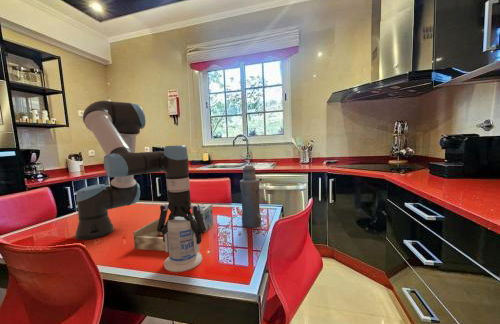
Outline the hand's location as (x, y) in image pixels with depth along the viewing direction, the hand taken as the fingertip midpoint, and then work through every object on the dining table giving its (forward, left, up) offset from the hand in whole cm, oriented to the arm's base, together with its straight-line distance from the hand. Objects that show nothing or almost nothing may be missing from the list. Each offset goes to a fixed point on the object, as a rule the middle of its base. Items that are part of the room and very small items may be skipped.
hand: (182, 251), depth 79 cm
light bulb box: (-6, +31, -4) cm, 32 cm away
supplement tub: (0, 0, -3) cm, 3 cm away
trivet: (0, 0, -4) cm, 4 cm away
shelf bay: (-16, +14, -4) cm, 22 cm away
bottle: (+17, +38, -4) cm, 42 cm away
